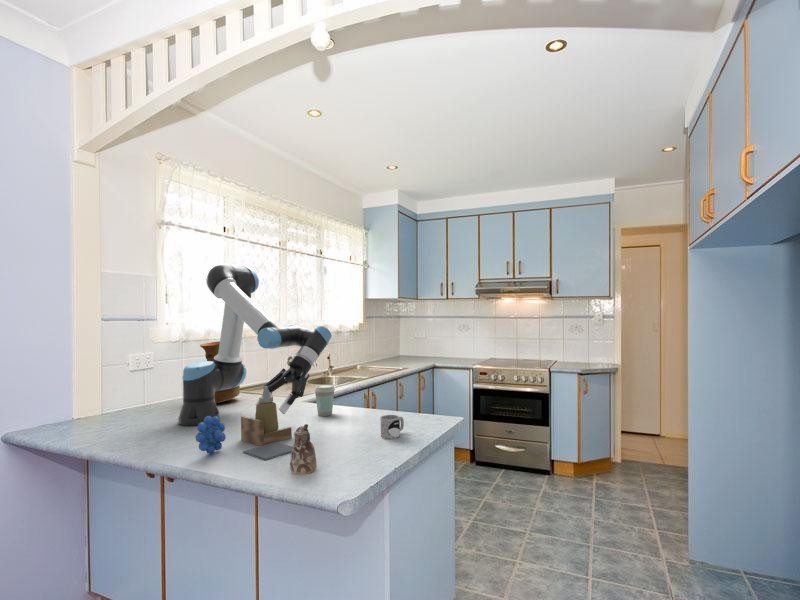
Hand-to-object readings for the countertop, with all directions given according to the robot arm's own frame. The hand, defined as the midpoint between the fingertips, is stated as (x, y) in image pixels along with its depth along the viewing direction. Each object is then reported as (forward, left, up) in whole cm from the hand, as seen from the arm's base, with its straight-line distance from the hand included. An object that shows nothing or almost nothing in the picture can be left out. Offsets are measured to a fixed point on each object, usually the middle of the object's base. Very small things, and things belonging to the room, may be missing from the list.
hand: (269, 409), depth 151 cm
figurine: (+33, -12, -10) cm, 37 cm away
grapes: (0, -20, -10) cm, 23 cm away
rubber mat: (+12, -8, -10) cm, 17 cm away
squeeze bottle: (-1, -1, -10) cm, 10 cm away
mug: (+32, +28, -10) cm, 44 cm away
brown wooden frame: (-1, -1, -10) cm, 10 cm away
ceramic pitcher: (-75, +21, -10) cm, 78 cm away
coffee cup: (-11, +34, -10) cm, 37 cm away
